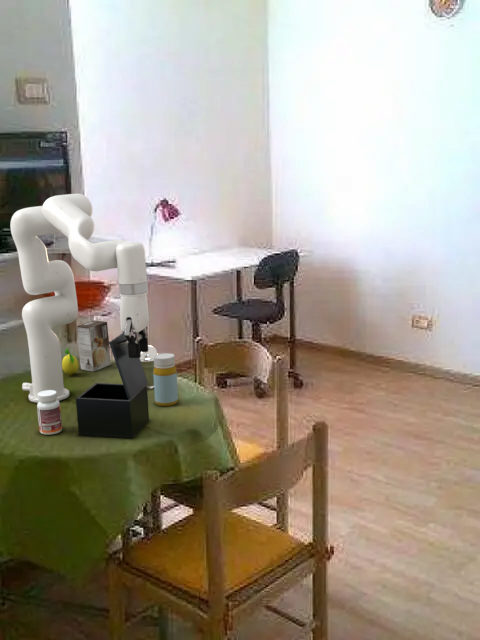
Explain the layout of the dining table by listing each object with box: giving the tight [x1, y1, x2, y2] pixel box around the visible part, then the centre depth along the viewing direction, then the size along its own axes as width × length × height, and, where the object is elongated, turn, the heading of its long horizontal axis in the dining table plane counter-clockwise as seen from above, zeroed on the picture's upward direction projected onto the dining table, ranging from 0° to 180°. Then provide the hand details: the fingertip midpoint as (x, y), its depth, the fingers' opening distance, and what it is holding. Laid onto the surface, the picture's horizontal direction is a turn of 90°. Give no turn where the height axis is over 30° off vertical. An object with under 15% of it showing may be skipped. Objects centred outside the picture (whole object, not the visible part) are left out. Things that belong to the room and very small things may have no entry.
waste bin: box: [75, 382, 150, 440], centre depth 217 cm, size 16×14×11 cm
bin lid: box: [109, 332, 148, 400], centre depth 212 cm, size 16×14×6 cm
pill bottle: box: [36, 390, 63, 436], centre depth 216 cm, size 6×6×11 cm
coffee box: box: [76, 319, 112, 373], centre depth 274 cm, size 9×6×16 cm
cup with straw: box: [131, 330, 159, 390], centre depth 250 cm, size 8×9×20 cm
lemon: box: [61, 347, 79, 376], centre depth 266 cm, size 7×6×10 cm
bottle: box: [153, 352, 179, 407], centre depth 235 cm, size 7×7×15 cm
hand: (138, 354), depth 211 cm, fingers open, 5 cm apart
